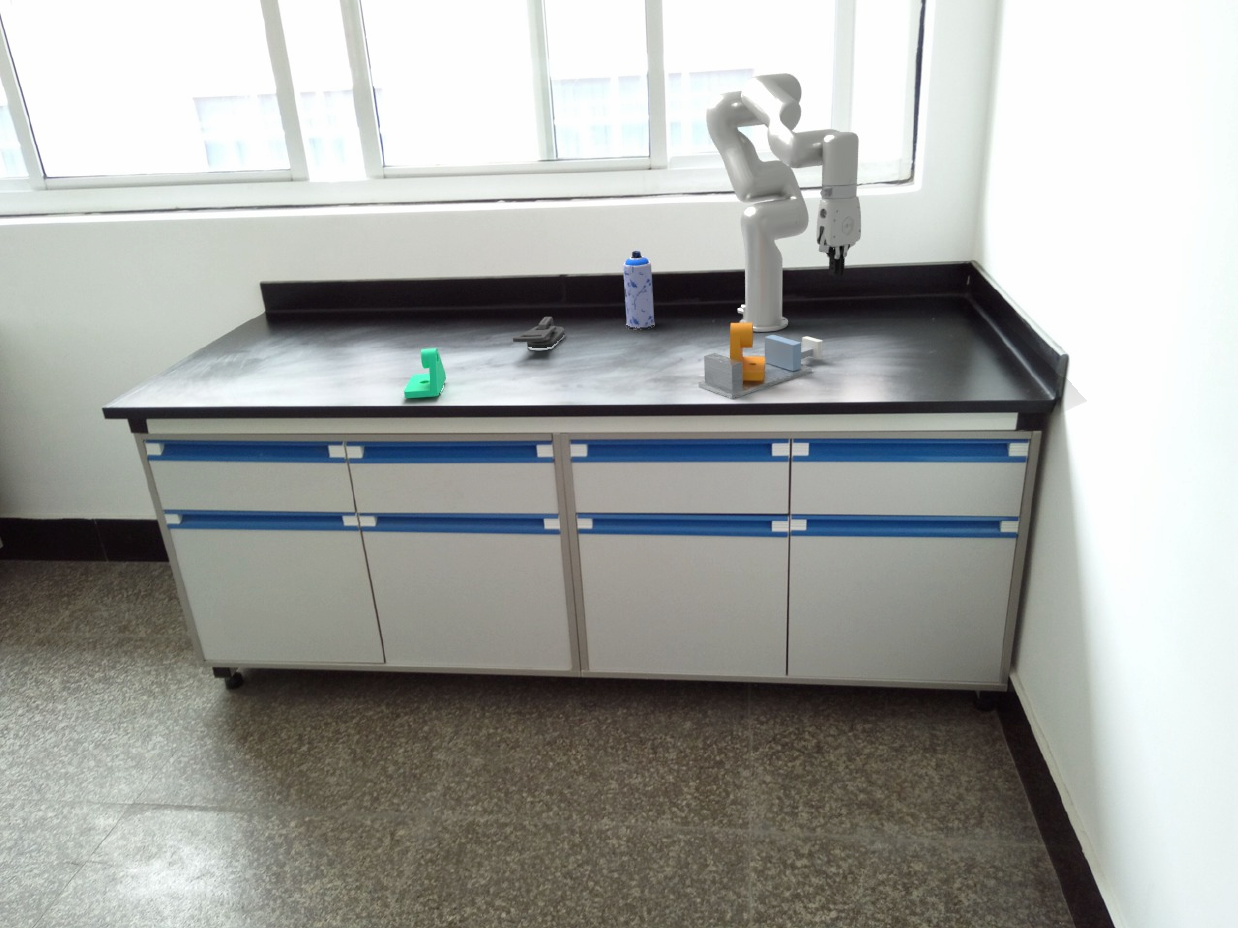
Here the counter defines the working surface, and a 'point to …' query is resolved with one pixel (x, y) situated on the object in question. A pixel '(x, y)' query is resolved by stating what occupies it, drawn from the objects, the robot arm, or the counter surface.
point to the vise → (741, 376)
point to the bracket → (738, 340)
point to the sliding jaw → (791, 351)
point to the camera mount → (427, 376)
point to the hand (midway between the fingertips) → (836, 274)
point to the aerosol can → (638, 291)
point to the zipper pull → (542, 334)
